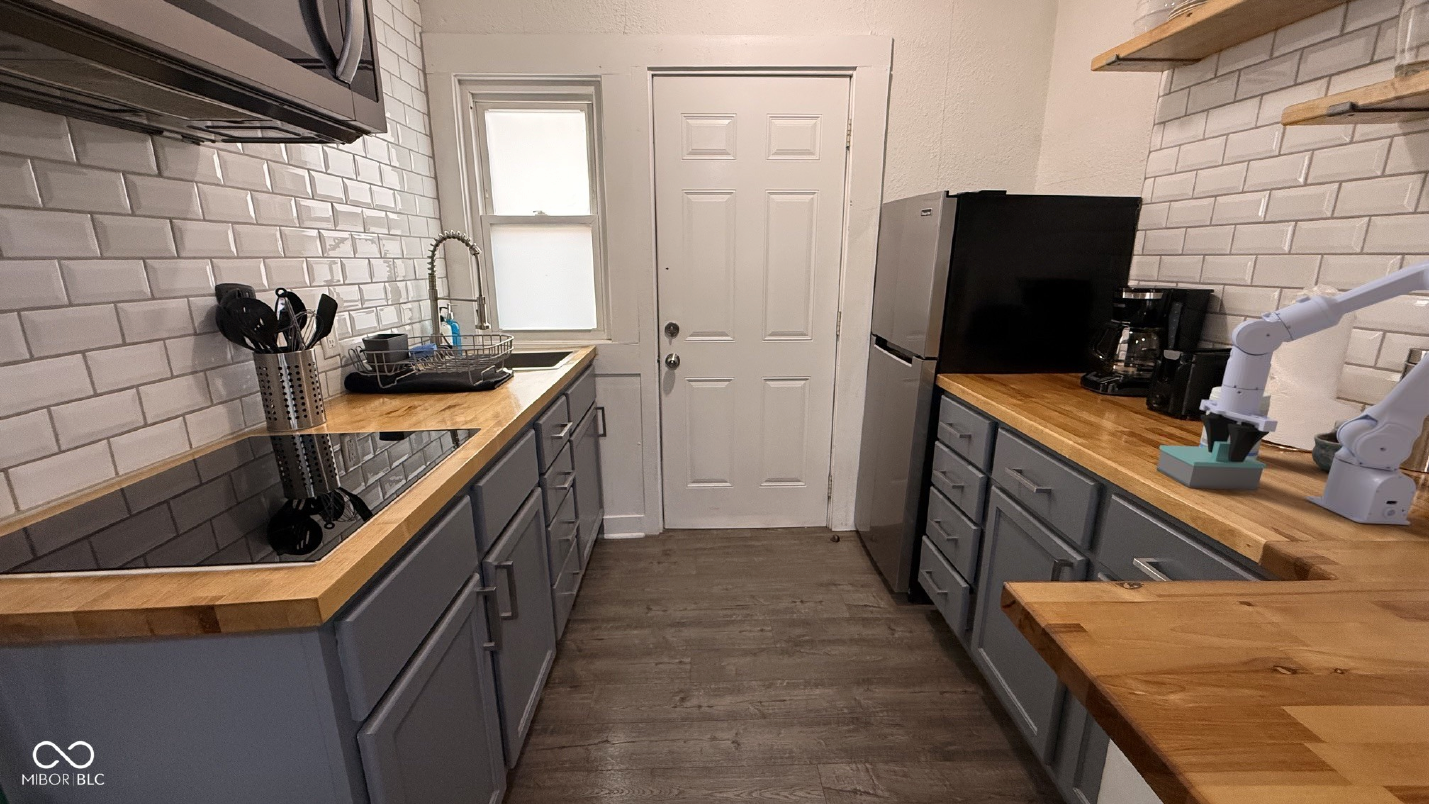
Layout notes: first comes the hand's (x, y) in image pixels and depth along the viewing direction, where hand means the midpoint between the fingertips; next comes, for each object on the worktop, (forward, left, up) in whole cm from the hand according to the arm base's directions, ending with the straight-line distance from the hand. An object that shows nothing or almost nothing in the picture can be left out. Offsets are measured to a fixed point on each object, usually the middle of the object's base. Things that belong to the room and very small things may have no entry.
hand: (1225, 456), depth 104 cm
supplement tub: (+18, -15, -6) cm, 24 cm away
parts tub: (+3, 0, -6) cm, 7 cm away
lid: (+3, 0, -2) cm, 4 cm away
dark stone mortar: (+11, -31, -6) cm, 34 cm away
